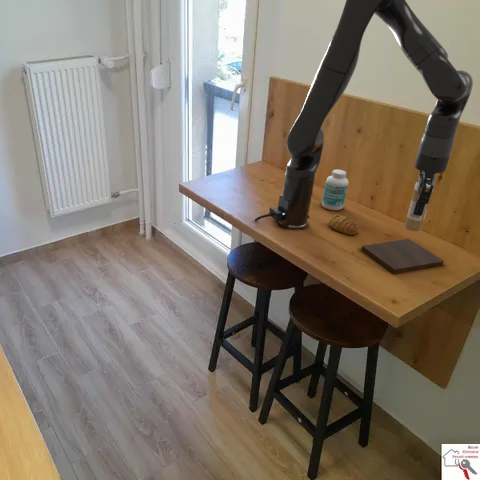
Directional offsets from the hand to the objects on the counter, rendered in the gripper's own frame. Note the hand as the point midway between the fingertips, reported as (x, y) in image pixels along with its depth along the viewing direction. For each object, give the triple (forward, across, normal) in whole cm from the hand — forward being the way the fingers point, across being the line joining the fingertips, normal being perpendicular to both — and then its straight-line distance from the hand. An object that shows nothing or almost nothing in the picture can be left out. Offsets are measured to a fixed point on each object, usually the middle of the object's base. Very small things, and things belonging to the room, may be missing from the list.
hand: (417, 211), depth 131 cm
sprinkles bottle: (+5, 0, 0) cm, 5 cm away
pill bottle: (+15, -30, -23) cm, 41 cm away
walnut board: (+15, -1, -1) cm, 15 cm away
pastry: (+16, -14, -18) cm, 27 cm away
